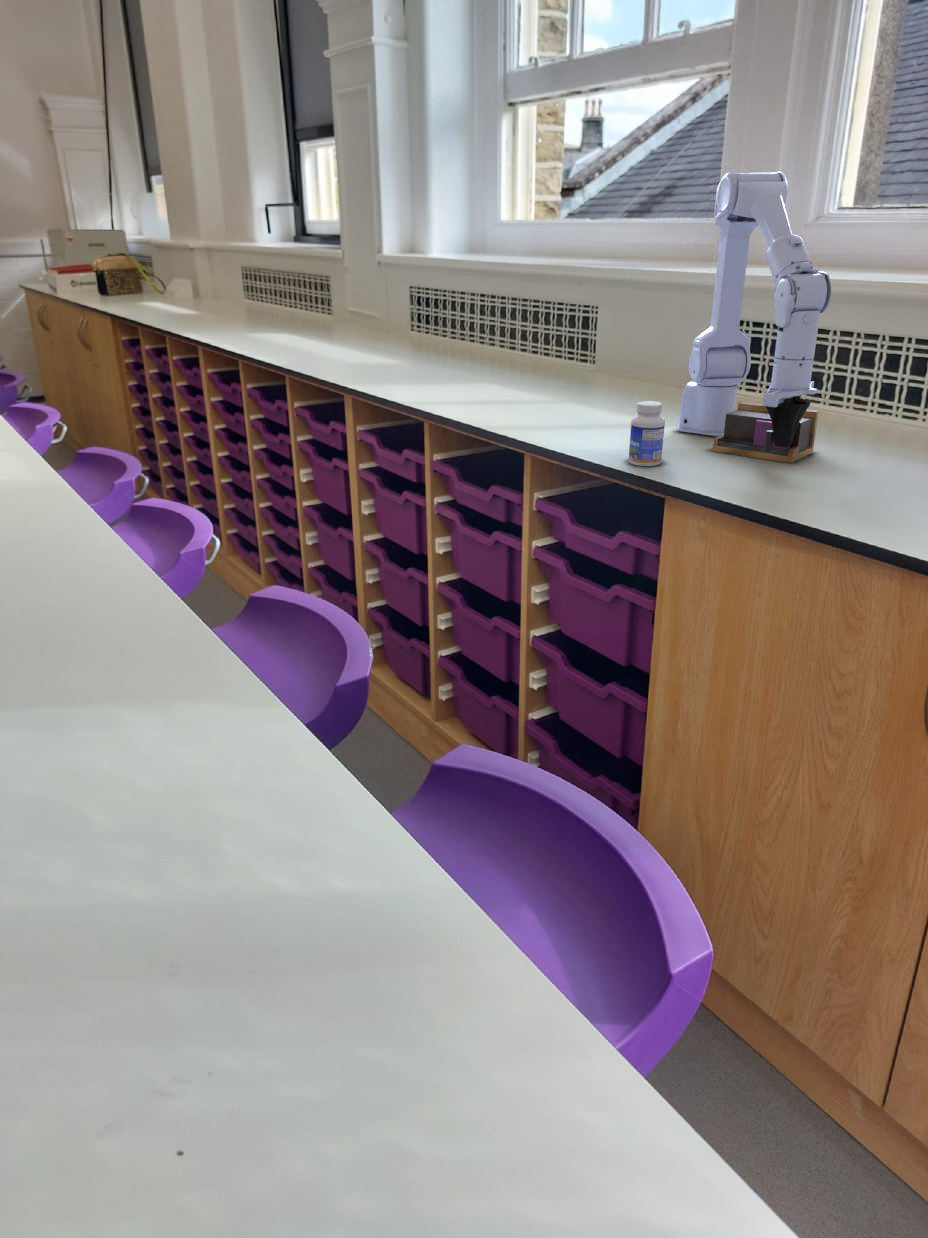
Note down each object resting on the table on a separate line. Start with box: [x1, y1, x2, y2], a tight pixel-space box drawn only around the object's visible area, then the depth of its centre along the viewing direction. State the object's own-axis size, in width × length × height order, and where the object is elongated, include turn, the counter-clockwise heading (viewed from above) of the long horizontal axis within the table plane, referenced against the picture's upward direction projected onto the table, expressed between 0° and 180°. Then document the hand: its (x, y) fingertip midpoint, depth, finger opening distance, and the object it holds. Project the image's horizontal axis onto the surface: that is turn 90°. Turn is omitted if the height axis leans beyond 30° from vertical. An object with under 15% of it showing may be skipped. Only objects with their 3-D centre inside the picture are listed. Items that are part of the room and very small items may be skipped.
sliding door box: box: [712, 401, 820, 464], centre depth 149 cm, size 14×9×7 cm, turn 49°
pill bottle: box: [628, 400, 666, 467], centre depth 143 cm, size 5×5×10 cm
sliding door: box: [753, 420, 790, 452], centre depth 143 cm, size 6×6×5 cm
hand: (782, 445), depth 139 cm, fingers closed, pressing on sliding door
